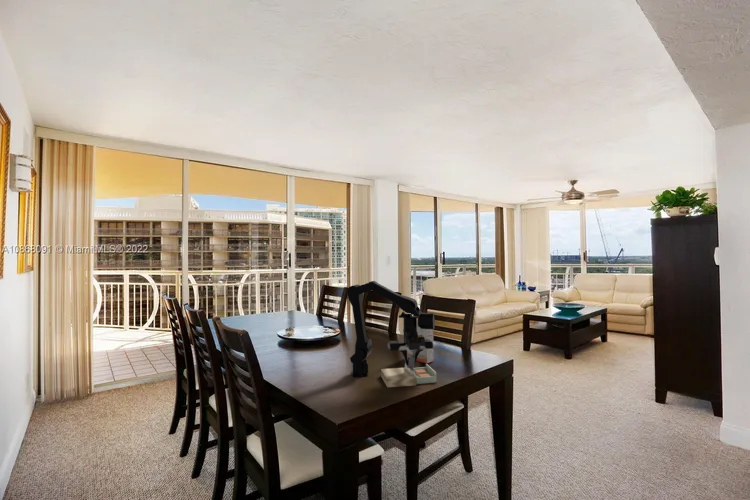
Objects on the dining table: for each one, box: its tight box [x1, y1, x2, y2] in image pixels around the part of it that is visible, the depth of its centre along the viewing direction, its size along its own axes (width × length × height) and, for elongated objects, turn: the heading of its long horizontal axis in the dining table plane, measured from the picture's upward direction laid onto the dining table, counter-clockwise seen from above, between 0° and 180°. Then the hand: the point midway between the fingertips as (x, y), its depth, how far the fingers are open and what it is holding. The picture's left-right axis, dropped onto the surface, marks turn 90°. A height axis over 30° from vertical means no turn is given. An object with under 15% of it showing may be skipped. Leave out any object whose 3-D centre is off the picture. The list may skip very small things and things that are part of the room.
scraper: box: [403, 355, 415, 376], centre depth 160 cm, size 2×11×6 cm, turn 9°
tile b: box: [415, 369, 426, 376], centre depth 164 cm, size 4×4×2 cm
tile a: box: [419, 374, 430, 377], centre depth 157 cm, size 4×4×2 cm
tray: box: [413, 363, 438, 385], centre depth 161 cm, size 8×13×4 cm, turn 10°
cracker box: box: [406, 318, 435, 365], centre depth 187 cm, size 14×6×21 cm, turn 45°
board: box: [380, 367, 417, 388], centre depth 158 cm, size 12×14×3 cm
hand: (410, 365), depth 160 cm, fingers closed on scraper, 3 cm apart
